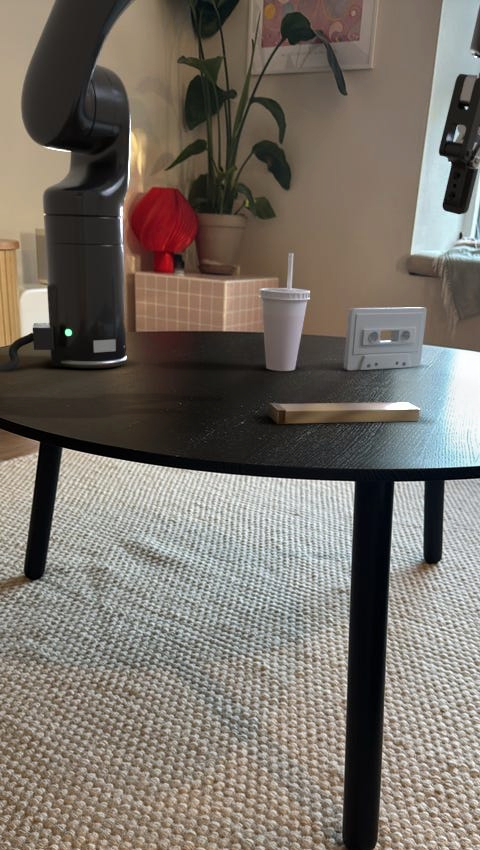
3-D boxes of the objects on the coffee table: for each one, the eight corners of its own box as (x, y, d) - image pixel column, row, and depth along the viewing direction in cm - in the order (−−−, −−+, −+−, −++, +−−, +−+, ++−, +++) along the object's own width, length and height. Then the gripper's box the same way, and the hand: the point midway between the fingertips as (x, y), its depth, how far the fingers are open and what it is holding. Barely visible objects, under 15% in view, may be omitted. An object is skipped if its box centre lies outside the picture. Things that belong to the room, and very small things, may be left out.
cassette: (414, 364, 103) (420, 306, 100) (422, 367, 101) (430, 308, 98) (340, 368, 98) (345, 307, 95) (348, 371, 96) (354, 309, 93)
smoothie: (302, 374, 93) (309, 254, 88) (251, 370, 94) (256, 252, 89) (308, 366, 99) (315, 253, 94) (260, 362, 100) (265, 251, 95)
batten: (277, 424, 69) (278, 410, 69) (269, 416, 72) (269, 402, 71) (418, 421, 72) (420, 407, 72) (405, 413, 75) (407, 401, 74)
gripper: (526, -4, 66) (477, 192, 75) (445, -20, 57) (400, 206, 66) (610, 2, 62) (548, 209, 71) (537, -13, 53) (476, 225, 62)
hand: (477, 207), depth 69 cm, fingers open, 8 cm apart
